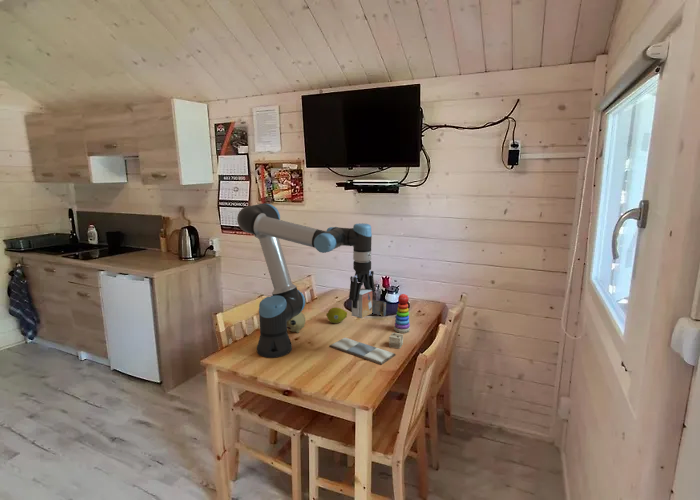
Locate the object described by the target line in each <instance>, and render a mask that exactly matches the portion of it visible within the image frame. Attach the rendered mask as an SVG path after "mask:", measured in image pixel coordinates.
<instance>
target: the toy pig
mask: <svg viewBox="0 0 700 500" xmlns="http://www.w3.org/2000/svg"><path fill="white" fill-rule="evenodd" d="M305 324H306V317H305V314H304V313H303V311H301V312H300V313H299V314H298V315H297V316H295V317H293V318H292V319H290V320H289V321H287V332H288V331H289V332H293V333H294V332H295V333H297V334H299V333H300V330H302V329H303V328H304V327H305Z"/></svg>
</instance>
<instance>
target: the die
mask: <svg viewBox="0 0 700 500" xmlns="http://www.w3.org/2000/svg"><path fill="white" fill-rule="evenodd" d="M403 345H404V333H399V332H392V333H391V334H390V335H389V338H388V348H392V349H399V350H400V349H401V347H402V346H403Z"/></svg>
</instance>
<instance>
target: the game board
mask: <svg viewBox="0 0 700 500" xmlns="http://www.w3.org/2000/svg"><path fill="white" fill-rule="evenodd" d="M329 348H331V349H335V350H338V351H340V352H343V353H346V354H349V355H352V356H355V357H357V358H361V359H362V360H363V359H364V360H367V361H369V362H372V363H375V364H378V365H381V366H382V365H384V364H386V363H387V362H388V361H389V360H391V359H392V358H394V357H395V356H396V355H397V354H396V353H394V352H391V351H388V350H386V349H381V348H379V347H375V346H372V345H369V344H367V343H364V342H360V341H356V340H354V339H351V338H348V337H343V338H341V339H339V340H338V341H335V342H334V343H331V344H330V345H329Z"/></svg>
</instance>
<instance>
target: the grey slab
mask: <svg viewBox="0 0 700 500" xmlns="http://www.w3.org/2000/svg"><path fill="white" fill-rule="evenodd" d="M372 313H373V314H372V315H374V314H377V315H376V316H379V315H381V316H380V317H385V316H386V315H387V302H386V301H381V300H375V299H372Z"/></svg>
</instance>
